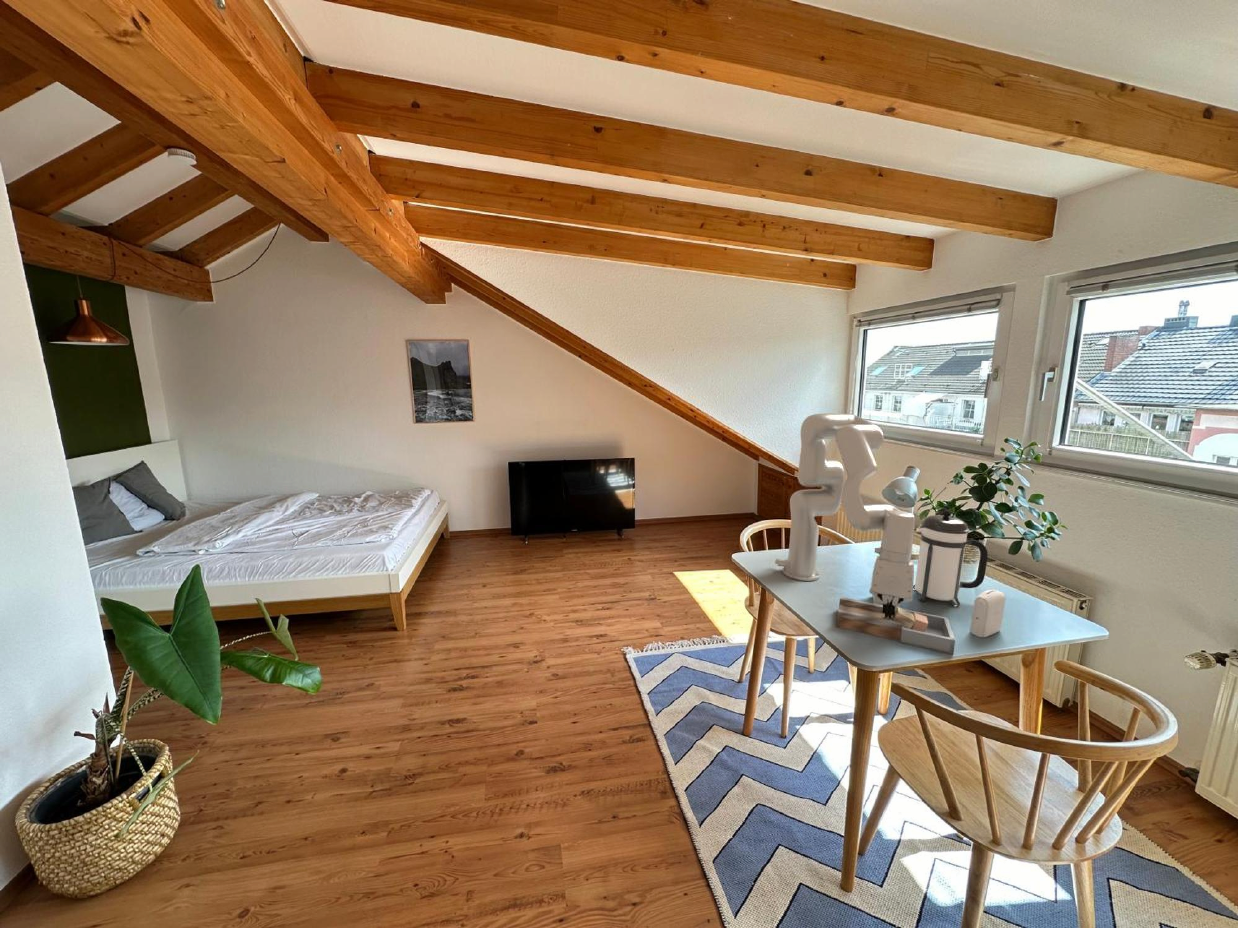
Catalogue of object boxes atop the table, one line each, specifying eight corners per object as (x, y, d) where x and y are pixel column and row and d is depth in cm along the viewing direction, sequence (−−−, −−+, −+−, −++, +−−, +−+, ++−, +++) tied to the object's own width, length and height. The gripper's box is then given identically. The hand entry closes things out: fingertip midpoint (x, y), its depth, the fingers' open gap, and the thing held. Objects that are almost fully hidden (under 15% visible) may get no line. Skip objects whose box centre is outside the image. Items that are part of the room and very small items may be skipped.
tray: (900, 642, 132) (902, 628, 131) (897, 620, 144) (899, 608, 144) (953, 654, 127) (955, 640, 126) (945, 630, 139) (947, 617, 138)
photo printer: (983, 639, 135) (990, 597, 133) (967, 632, 138) (973, 591, 136) (1002, 631, 139) (1009, 590, 137) (986, 624, 143) (992, 585, 141)
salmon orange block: (915, 619, 134) (928, 623, 132) (914, 612, 138) (926, 616, 136) (910, 633, 135) (922, 637, 134) (909, 626, 139) (921, 630, 138)
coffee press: (945, 612, 150) (958, 519, 145) (898, 591, 165) (909, 506, 160) (981, 604, 156) (995, 514, 151) (933, 584, 171) (945, 502, 166)
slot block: (836, 626, 140) (838, 612, 139) (838, 609, 151) (840, 596, 150) (900, 640, 133) (902, 625, 132) (897, 622, 143) (899, 607, 143)
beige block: (892, 621, 136) (898, 612, 135) (892, 614, 140) (897, 606, 139) (909, 629, 135) (915, 621, 134) (908, 623, 139) (913, 614, 138)
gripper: (865, 554, 136) (858, 615, 139) (928, 564, 129) (919, 628, 132) (865, 546, 142) (859, 605, 145) (925, 555, 136) (917, 617, 139)
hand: (887, 616), depth 139 cm, fingers closed
